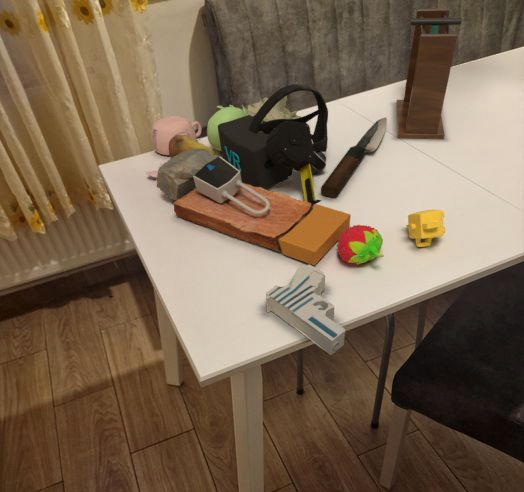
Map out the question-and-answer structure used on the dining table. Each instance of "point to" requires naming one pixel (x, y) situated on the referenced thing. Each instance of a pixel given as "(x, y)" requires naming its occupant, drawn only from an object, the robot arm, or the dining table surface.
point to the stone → (182, 172)
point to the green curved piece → (222, 117)
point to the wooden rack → (426, 79)
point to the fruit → (185, 145)
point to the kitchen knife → (354, 159)
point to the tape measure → (294, 153)
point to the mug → (172, 132)
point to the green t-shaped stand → (435, 22)
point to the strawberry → (359, 244)
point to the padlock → (224, 183)
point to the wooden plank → (269, 221)
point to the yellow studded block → (426, 226)
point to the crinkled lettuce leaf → (273, 110)
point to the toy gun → (307, 308)
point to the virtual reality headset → (254, 143)
